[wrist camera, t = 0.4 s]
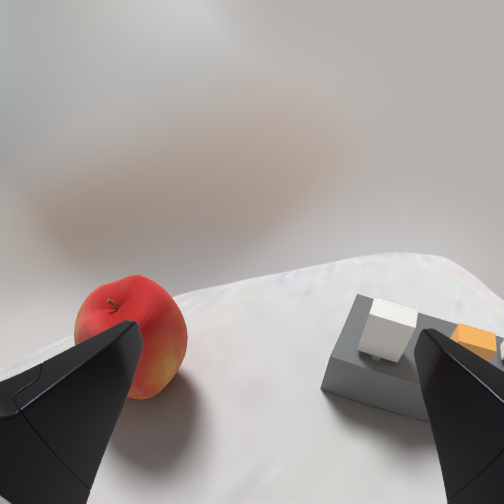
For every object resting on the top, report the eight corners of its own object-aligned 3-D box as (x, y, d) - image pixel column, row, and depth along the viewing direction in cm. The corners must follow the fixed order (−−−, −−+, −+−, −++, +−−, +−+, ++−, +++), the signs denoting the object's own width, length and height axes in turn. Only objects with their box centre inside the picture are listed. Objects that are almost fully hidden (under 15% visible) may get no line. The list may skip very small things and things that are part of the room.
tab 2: (471, 383, 17) (496, 351, 14) (436, 374, 18) (458, 340, 16) (472, 366, 18) (495, 333, 16) (438, 357, 19) (458, 323, 17)
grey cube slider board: (508, 437, 15) (539, 410, 12) (320, 388, 24) (330, 355, 21) (508, 374, 21) (532, 345, 18) (347, 328, 30) (357, 292, 27)
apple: (167, 324, 31) (145, 247, 25) (216, 384, 25) (200, 306, 19) (91, 362, 26) (49, 289, 20) (125, 435, 20) (69, 371, 14)
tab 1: (397, 362, 20) (415, 327, 17) (356, 349, 21) (369, 313, 19) (401, 346, 21) (418, 310, 19) (362, 333, 22) (374, 297, 20)
